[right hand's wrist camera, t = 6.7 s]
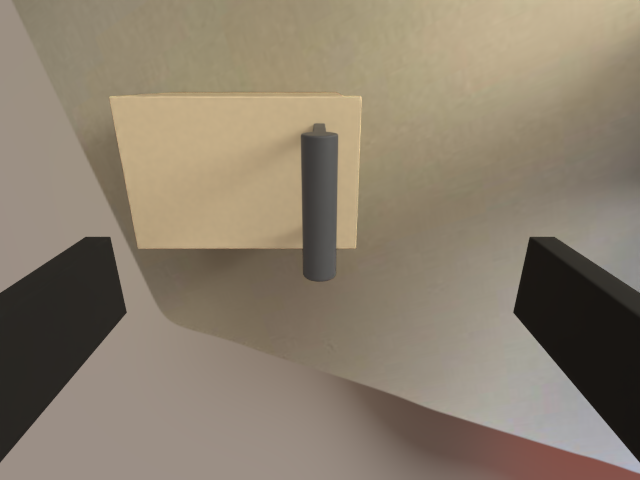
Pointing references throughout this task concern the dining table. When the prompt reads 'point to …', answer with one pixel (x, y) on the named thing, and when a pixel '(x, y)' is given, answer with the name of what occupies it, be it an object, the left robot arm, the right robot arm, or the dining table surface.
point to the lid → (243, 173)
